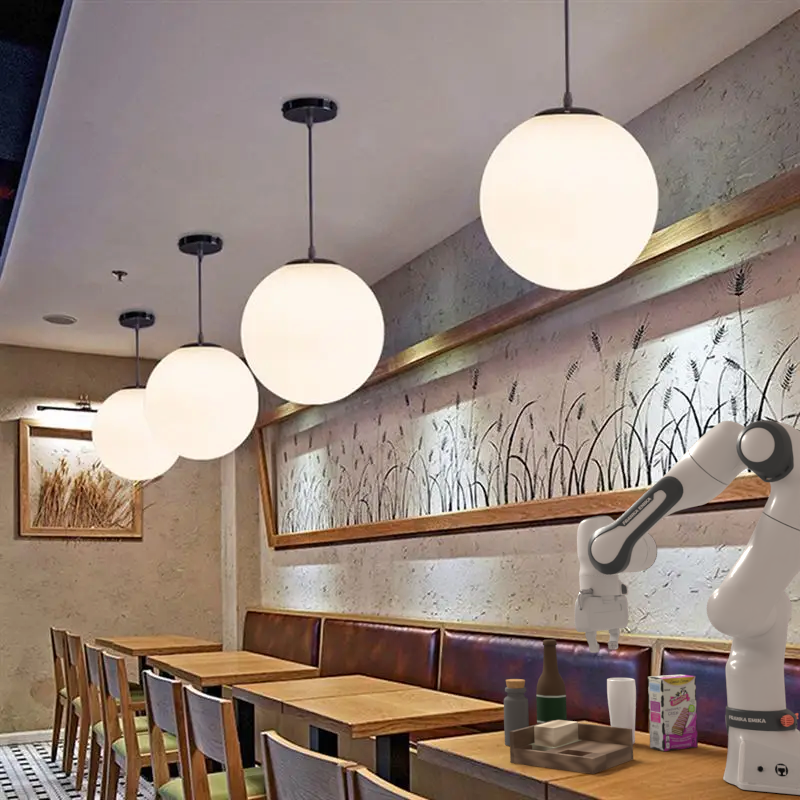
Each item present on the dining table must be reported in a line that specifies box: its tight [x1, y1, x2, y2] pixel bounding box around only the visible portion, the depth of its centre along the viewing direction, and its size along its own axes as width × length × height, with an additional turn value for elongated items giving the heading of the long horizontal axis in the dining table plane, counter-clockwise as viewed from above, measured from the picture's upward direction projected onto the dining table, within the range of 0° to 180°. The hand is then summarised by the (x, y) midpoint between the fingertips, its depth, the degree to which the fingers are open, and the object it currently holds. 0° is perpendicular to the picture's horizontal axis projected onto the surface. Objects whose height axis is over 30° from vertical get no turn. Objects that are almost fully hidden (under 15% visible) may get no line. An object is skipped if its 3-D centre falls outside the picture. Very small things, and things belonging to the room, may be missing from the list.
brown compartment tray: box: [509, 720, 634, 775], centre depth 217 cm, size 20×19×6 cm
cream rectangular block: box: [534, 720, 579, 747], centre depth 222 cm, size 5×11×4 cm, turn 142°
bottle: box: [503, 678, 530, 747], centre depth 237 cm, size 6×6×15 cm
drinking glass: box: [606, 677, 637, 745], centre depth 237 cm, size 7×7×15 cm
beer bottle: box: [535, 639, 568, 724], centre depth 243 cm, size 8×8×24 cm
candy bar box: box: [647, 674, 699, 752], centre depth 231 cm, size 11×5×16 cm, turn 120°
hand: (604, 650), depth 221 cm, fingers open, 8 cm apart
